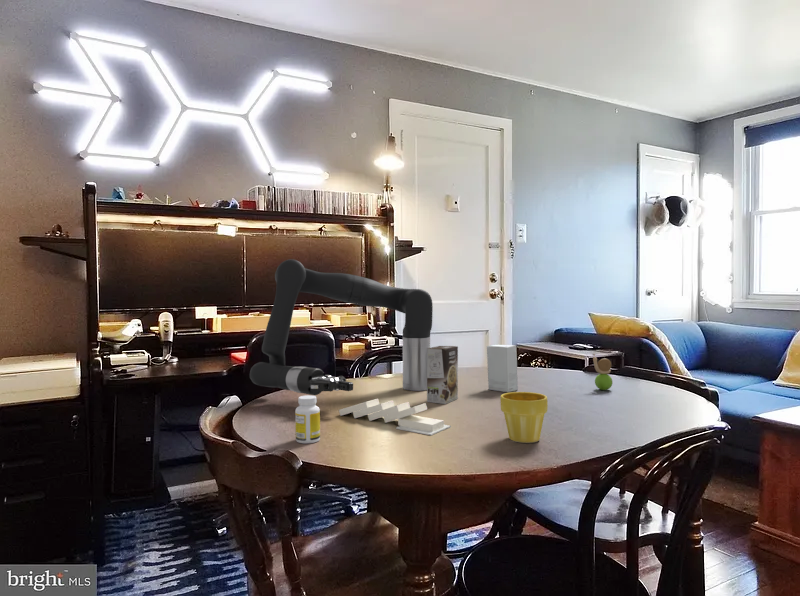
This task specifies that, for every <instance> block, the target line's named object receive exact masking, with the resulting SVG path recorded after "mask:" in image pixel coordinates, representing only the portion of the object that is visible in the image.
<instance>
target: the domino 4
mask: <svg viewBox="0 0 800 596" xmlns="http://www.w3.org/2000/svg"><path fill="white" fill-rule="evenodd" d="M426 410H428V406H427V403H426V402H424V403H422V404H418V405H414V406H412V407H411V406H410V408H408V409H405V410H402V411H399V412H396V413H393V414H390V415H387V416H384V417H383V420H384V423H385V424H387V423H389V422H393V421H396V420H398V419H399V418H402V417H406V416H409V415H414V414H417V413H421V412H424V411H426Z"/></svg>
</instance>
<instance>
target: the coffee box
mask: <svg viewBox="0 0 800 596" xmlns="http://www.w3.org/2000/svg"><path fill="white" fill-rule="evenodd" d="M458 353H459V347H458V345H457V346H456V345H455V346H454V345H437V346H433V347H430V348H427V390H426V402H428V403H434V404H441V405H446V404H448V403H451V402H453V401H455V400H457V399H458V398H459V395H458V394H459V388H458V387H459V381H458V380H459V378H458V377H459V375H458V374H459V369H458V368H459V367H458V366H459V354H458Z"/></svg>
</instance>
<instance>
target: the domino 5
mask: <svg viewBox="0 0 800 596" xmlns="http://www.w3.org/2000/svg"><path fill="white" fill-rule="evenodd" d="M397 425H398V427H399V426H405V427H410V428H416V429H421V430H426V431H432V432H433V431H436V430H438V429H440V428H443V427H444V425H445V420H443V419H436V418H432V417H426V416H419V415H414V414H412V415H409V416H406V417H402V418H399V419H397Z"/></svg>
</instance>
